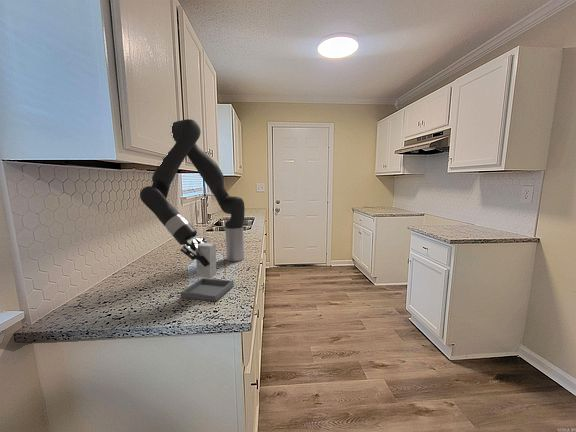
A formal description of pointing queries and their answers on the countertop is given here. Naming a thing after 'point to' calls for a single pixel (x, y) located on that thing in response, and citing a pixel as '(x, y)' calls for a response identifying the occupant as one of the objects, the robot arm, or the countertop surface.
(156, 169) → the robot arm
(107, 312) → the countertop surface
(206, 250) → the skincare box
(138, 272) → the countertop surface
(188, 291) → the tray
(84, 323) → the countertop surface
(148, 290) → the countertop surface
